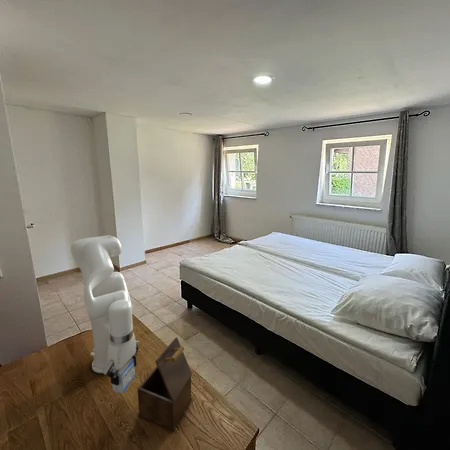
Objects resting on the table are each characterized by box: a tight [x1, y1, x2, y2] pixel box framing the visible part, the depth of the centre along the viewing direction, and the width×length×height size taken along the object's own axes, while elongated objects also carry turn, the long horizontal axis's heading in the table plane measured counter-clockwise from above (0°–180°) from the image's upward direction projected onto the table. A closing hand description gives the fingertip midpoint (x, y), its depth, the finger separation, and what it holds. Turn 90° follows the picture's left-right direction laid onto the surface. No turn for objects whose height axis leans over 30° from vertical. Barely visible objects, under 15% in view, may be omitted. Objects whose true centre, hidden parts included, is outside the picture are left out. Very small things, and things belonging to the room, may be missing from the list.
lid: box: [154, 336, 193, 402], centre depth 86 cm, size 15×13×5 cm
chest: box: [137, 365, 192, 431], centre depth 91 cm, size 15×13×12 cm
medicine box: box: [111, 358, 136, 394], centre depth 92 cm, size 8×4×9 cm, turn 168°
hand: (124, 373), depth 92 cm, fingers closed on medicine box, 8 cm apart
